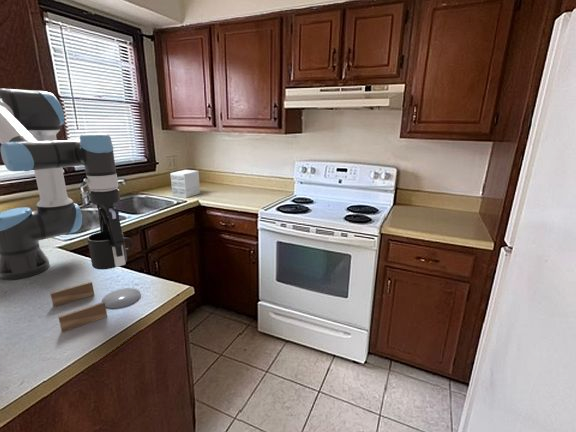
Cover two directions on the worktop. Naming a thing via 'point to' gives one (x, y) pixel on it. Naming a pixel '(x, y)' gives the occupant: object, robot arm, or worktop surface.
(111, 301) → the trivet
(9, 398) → the worktop surface
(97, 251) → the mug
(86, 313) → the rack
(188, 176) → the supplement box
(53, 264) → the worktop surface
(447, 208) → the worktop surface
